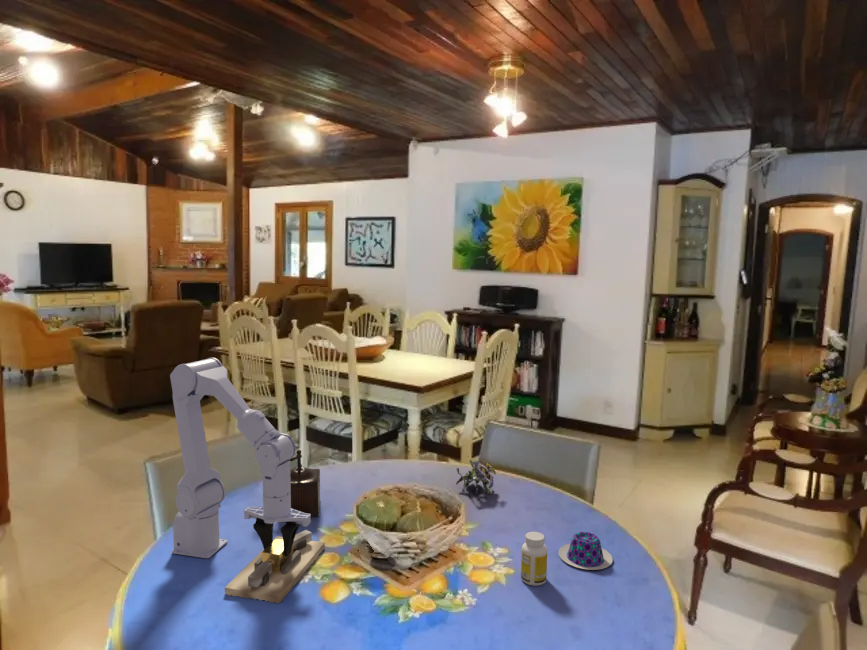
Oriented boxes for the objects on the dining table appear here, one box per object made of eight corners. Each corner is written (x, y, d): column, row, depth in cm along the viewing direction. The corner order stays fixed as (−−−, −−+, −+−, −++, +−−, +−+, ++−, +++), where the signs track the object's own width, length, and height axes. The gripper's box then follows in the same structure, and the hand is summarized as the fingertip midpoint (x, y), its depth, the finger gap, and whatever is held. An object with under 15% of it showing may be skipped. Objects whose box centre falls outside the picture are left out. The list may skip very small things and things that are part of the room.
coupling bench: (224, 594, 119) (224, 574, 118) (277, 542, 140) (276, 524, 139) (279, 603, 116) (279, 582, 115) (324, 548, 137) (324, 530, 137)
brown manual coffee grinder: (321, 499, 164) (320, 436, 162) (318, 517, 153) (318, 450, 151) (263, 501, 162) (262, 438, 160) (257, 520, 151) (255, 452, 149)
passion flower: (488, 511, 170) (499, 488, 162) (451, 504, 170) (460, 481, 162) (488, 477, 179) (499, 454, 171) (453, 471, 178) (462, 448, 170)
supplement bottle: (548, 575, 127) (549, 532, 126) (544, 588, 122) (546, 544, 121) (523, 570, 129) (524, 528, 128) (518, 583, 124) (519, 539, 123)
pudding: (548, 559, 135) (549, 537, 134) (573, 540, 144) (574, 520, 143) (598, 579, 127) (599, 556, 126) (621, 557, 136) (622, 536, 135)
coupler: (261, 571, 125) (261, 553, 124) (276, 554, 131) (276, 537, 131) (278, 573, 124) (278, 555, 123) (293, 557, 130) (293, 540, 130)
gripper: (235, 496, 123) (237, 557, 125) (300, 504, 120) (301, 566, 122) (253, 483, 130) (254, 541, 132) (314, 490, 127) (315, 549, 129)
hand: (278, 552), depth 127 cm, fingers closed on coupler, 4 cm apart
